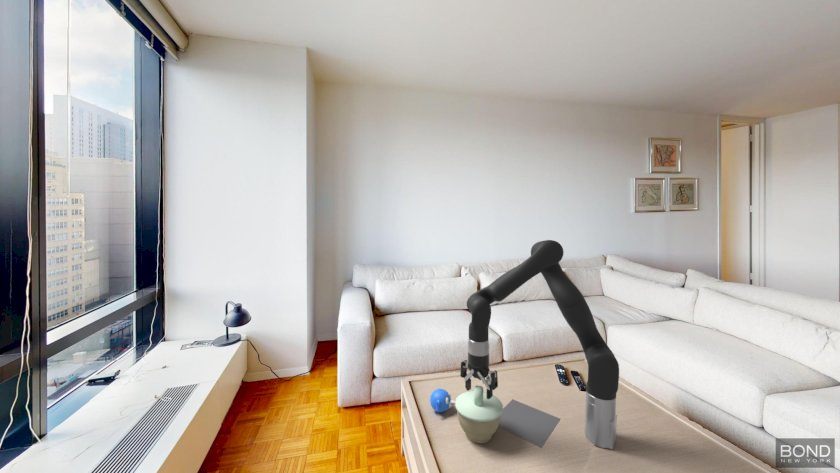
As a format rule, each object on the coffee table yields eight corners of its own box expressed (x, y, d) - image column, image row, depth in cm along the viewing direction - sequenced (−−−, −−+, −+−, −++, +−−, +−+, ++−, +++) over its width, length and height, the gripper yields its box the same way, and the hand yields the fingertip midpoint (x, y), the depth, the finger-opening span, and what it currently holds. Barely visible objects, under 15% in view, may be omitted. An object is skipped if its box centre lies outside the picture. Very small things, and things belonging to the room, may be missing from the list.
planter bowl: (506, 451, 108) (506, 420, 107) (458, 451, 108) (458, 420, 107) (495, 420, 124) (495, 393, 123) (454, 420, 124) (454, 393, 123)
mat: (560, 419, 123) (560, 418, 123) (541, 448, 108) (541, 447, 108) (512, 400, 137) (512, 399, 137) (489, 423, 122) (489, 422, 122)
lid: (511, 404, 116) (511, 386, 115) (487, 428, 103) (487, 408, 102) (471, 388, 127) (471, 371, 126) (446, 408, 114) (446, 389, 114)
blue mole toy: (455, 422, 122) (455, 402, 122) (426, 416, 126) (426, 396, 126) (461, 405, 134) (461, 385, 133) (434, 400, 138) (434, 381, 137)
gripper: (501, 352, 112) (501, 396, 113) (467, 342, 121) (467, 382, 122) (491, 360, 106) (490, 406, 107) (456, 348, 115) (456, 391, 117)
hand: (478, 393), depth 115 cm, fingers open, 8 cm apart
